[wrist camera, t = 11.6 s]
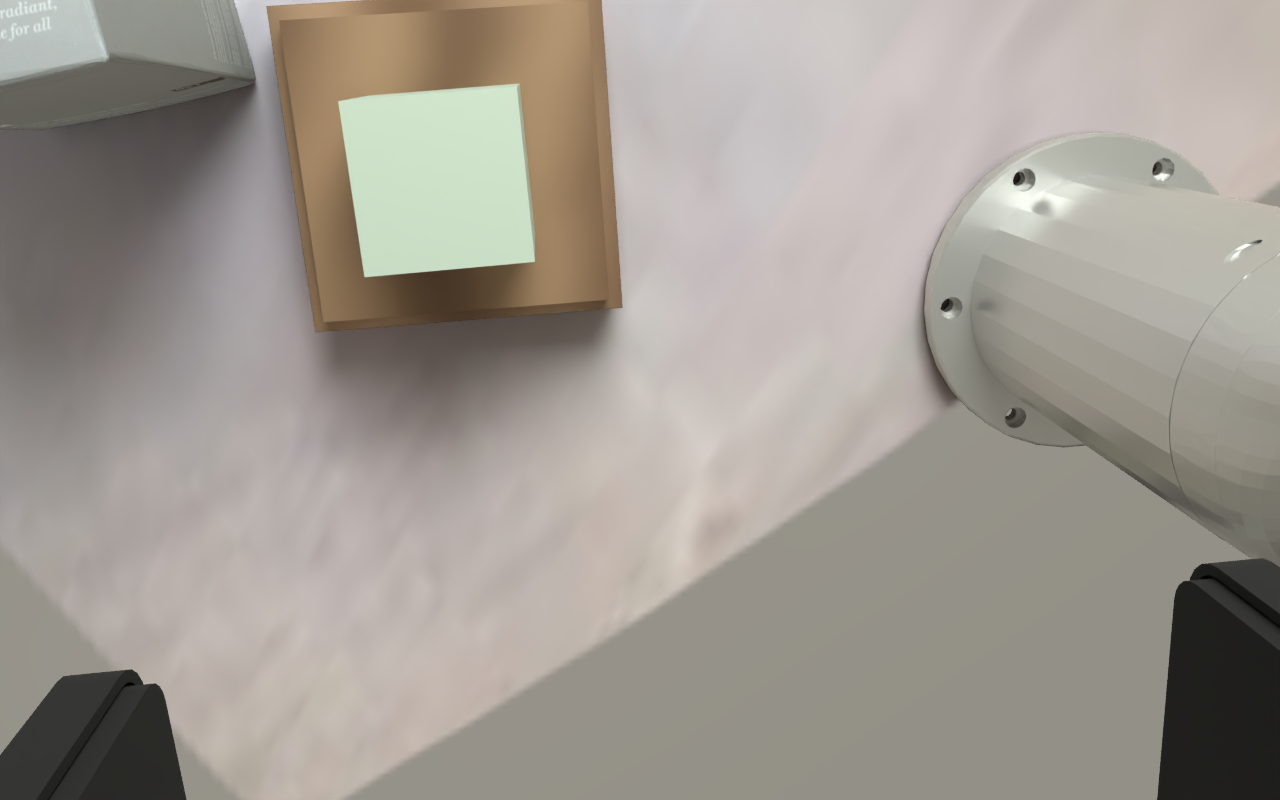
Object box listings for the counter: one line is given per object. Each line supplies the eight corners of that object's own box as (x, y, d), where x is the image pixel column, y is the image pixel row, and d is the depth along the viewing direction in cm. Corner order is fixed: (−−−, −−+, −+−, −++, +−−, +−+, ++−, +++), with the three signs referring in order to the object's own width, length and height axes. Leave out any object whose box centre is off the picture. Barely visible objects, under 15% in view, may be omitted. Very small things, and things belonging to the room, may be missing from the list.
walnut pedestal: (595, -9, 41) (601, -16, 37) (616, 290, 44) (624, 312, 40) (287, 10, 40) (260, 5, 36) (331, 313, 43) (311, 337, 39)
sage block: (519, 83, 37) (516, 86, 32) (535, 232, 39) (534, 261, 33) (368, 95, 37) (338, 101, 31) (389, 245, 39) (364, 277, 33)
